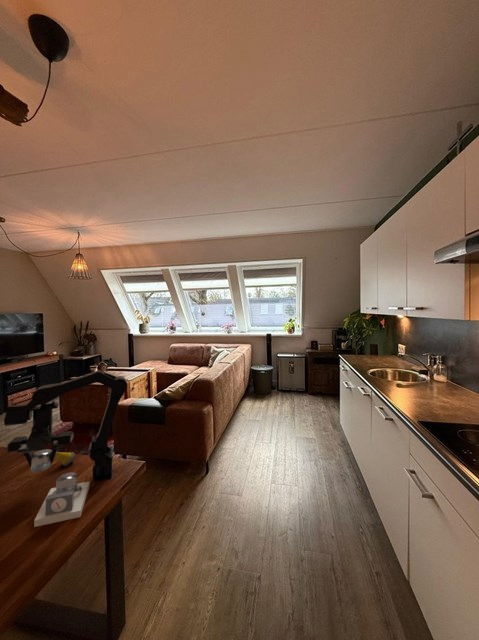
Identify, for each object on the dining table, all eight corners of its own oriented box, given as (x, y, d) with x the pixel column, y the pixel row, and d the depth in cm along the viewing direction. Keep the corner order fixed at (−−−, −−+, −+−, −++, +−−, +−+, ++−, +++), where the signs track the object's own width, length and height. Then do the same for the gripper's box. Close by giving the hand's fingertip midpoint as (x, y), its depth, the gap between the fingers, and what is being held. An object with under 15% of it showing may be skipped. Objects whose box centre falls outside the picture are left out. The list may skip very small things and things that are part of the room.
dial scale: (89, 486, 97) (89, 467, 97) (80, 516, 82) (80, 494, 82) (51, 494, 93) (51, 474, 93) (34, 527, 78) (34, 503, 78)
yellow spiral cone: (76, 466, 112) (57, 456, 106) (66, 469, 113) (47, 460, 107) (81, 453, 116) (62, 444, 110) (71, 457, 117) (53, 448, 111)
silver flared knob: (53, 461, 99) (54, 448, 99) (48, 469, 93) (49, 455, 93) (34, 464, 97) (35, 450, 97) (28, 473, 91) (28, 458, 91)
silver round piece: (78, 485, 93) (78, 471, 93) (74, 495, 88) (75, 480, 88) (58, 488, 91) (59, 474, 91) (53, 499, 85) (53, 484, 86)
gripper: (-1, 433, 84) (-2, 482, 84) (66, 426, 91) (65, 471, 91) (14, 421, 95) (13, 464, 95) (74, 415, 102) (73, 455, 101)
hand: (41, 464), depth 95 cm, fingers closed on silver flared knob, 6 cm apart
